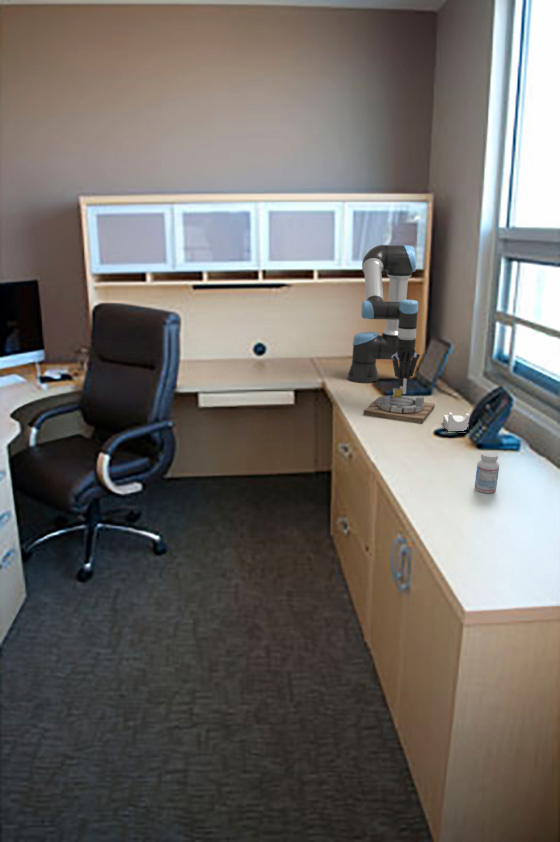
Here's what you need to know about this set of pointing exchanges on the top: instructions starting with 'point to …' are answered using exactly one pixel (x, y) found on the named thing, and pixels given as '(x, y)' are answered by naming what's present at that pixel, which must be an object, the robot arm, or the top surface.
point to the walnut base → (410, 417)
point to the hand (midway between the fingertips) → (402, 393)
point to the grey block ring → (385, 405)
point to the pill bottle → (487, 473)
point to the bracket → (456, 422)
